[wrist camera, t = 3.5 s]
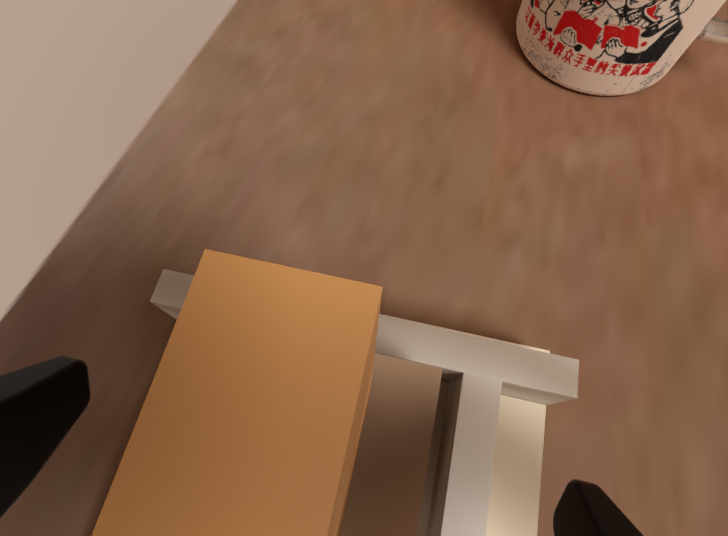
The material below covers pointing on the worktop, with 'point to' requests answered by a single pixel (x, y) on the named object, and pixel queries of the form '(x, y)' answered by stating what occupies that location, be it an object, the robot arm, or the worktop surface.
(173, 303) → the lane tray
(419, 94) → the worktop surface
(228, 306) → the tan wooden block
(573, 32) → the teacup with lid
